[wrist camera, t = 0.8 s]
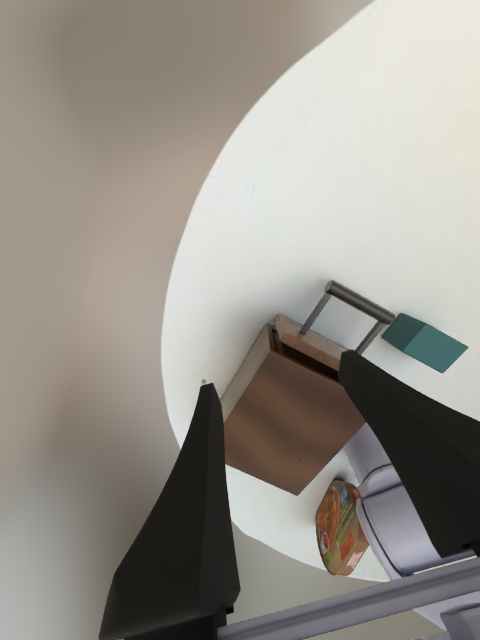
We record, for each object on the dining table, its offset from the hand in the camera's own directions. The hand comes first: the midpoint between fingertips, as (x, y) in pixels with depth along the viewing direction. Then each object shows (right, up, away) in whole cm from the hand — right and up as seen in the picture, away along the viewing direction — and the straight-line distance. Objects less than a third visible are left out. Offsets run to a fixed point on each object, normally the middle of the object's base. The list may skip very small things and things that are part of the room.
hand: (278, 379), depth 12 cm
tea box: (+21, +1, +17) cm, 27 cm away
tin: (+15, -30, +28) cm, 44 cm away
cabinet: (+4, -7, +21) cm, 22 cm away
